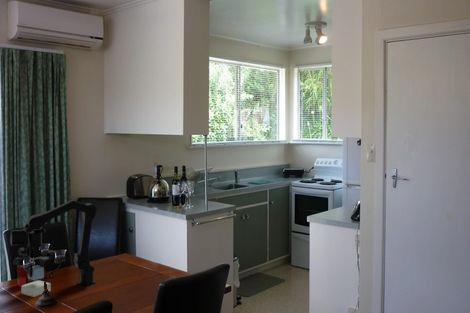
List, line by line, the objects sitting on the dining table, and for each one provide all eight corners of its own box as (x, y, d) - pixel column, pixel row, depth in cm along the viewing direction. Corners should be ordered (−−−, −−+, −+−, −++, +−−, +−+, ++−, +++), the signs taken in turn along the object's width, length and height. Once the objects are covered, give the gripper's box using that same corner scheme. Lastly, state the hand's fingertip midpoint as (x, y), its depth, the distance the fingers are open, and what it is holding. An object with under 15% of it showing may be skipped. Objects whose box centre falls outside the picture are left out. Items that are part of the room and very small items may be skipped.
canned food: (28, 288, 220) (28, 265, 220) (14, 287, 222) (13, 264, 222) (38, 283, 228) (38, 261, 227) (24, 282, 230) (23, 260, 229)
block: (44, 277, 215) (43, 267, 215) (33, 280, 211) (33, 269, 211) (38, 275, 218) (37, 265, 218) (28, 278, 214) (27, 267, 214)
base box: (50, 291, 216) (50, 283, 216) (33, 297, 209) (33, 288, 208) (38, 288, 221) (38, 280, 221) (21, 294, 213) (21, 285, 213)
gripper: (43, 236, 226) (44, 268, 227) (6, 244, 211) (7, 277, 212) (57, 239, 219) (57, 272, 220) (19, 247, 204) (20, 282, 205)
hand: (36, 275), depth 214 cm, fingers closed on block, 5 cm apart
